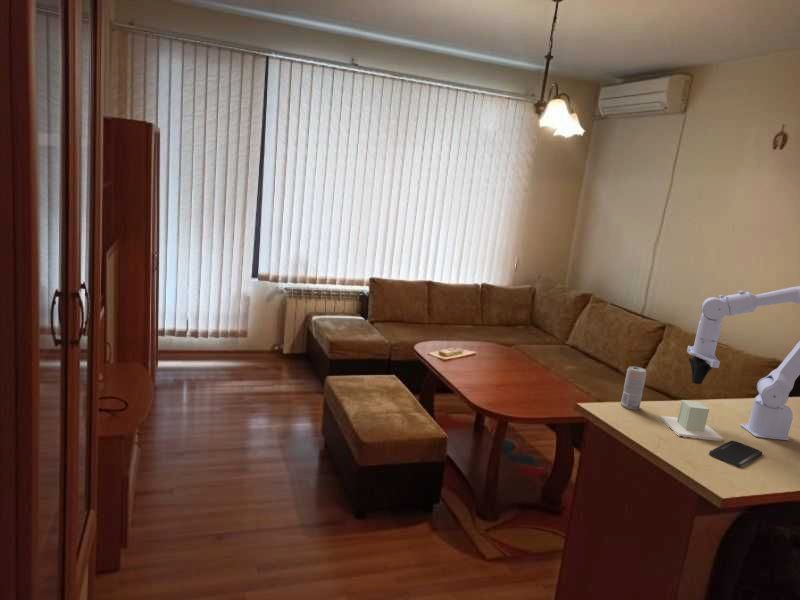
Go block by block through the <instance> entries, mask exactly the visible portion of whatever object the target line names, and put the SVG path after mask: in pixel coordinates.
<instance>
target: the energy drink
mask: <svg viewBox="0 0 800 600" xmlns="http://www.w3.org/2000/svg"><path fill="white" fill-rule="evenodd" d="M646 378H647V369H646V368H643V367H640V366H635V365H630V366H628V368H627V369H626V374H625V380H624V385H623V391H622V396H621V401H620V406H622V407H623V408H625V409H626V410H627V409H628V410H633V411H636V410H639V409H640V406H641V404H642V403H641V402H642V398H643V394H644V393H643V392H644V389H645V388H644V387H645V383H646Z"/></svg>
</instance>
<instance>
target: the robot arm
mask: <svg viewBox="0 0 800 600" xmlns="http://www.w3.org/2000/svg"><path fill="white" fill-rule="evenodd" d="M785 303H795V304H798V305H800V285H797V286H792V287H787V288H781V289H777V290H772V291H769V292H764V293H759V294H754V293H752V292H750V291H744V290H743V289H742V290H738V293H734V294H729V295H724V294H719V297H715V296H712V297H707V298H705V299H704V301H703V302H702V303H701V305H700V306H701V311H702V313H701V315H700V317H699V319H700V320H699V321H698V326H697V329H696V335H695V340H694V343H693V345H692V346H691V345H688V346H687V349H686V352H687V354H689V355H690V356H691V357H688V361H689V365H690V369H691V383H693V384H695V385H702V383H703V382H704V380H705V378H706V377H707V375H708V373H709V372H710V371H711V370H712V369H713V368H716V369H719V367H720V364H721V361H720V360H719V359H718V358H717V356H716V351H717V350H716V349H717V346H718V342H719V337H720V333H721V328H722V320H723V318H724V317H725V316H728V317H730V316H735V315H736V316H737V315H741V314H742V315H743V314H749V313H754V312H755V310H756V309H757V308H758V307H762V306H763V307H764V306H769V305H770V306H771V305H777V304H778V305H779V304H785ZM692 356H693V357H692ZM799 376H800V340H799V341H798V342H797V343H796V345H795V346H794V347H793V348H792V350H790V352H789V353H788V354H787V355H786V357H784V359H783V361H782V362H781V363H780V364H779V365H778V367H776V368H775V369H773V370H772V371H770V373H769V374H768V375H766V376H765V377H762V378H760V379H759V380H758V381H757V384H756V390H757V392H758V395H756V396H755V397H754V400H753V404H752V407H751V411H750V415H749V420H748V423H740V426H741V427H742V428H744V429H745V430H746V431H747V432H749V433H750V434H752V435H753V436H754V437H756V438H761V439H762V438H763V439H772V440H781V441H790V438H789V437H788V436H789V433H790V430H791V425H792V422H793V418H794V417H793V416H794V415H793V411H792V409H791V407H790V406H788V405H786V404H787V402H788V401H789V395H790V393H791V391H792V390H793V388H794V385H795V381H796V380H797V378H798V377H799Z"/></svg>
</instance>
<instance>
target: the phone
mask: <svg viewBox="0 0 800 600" xmlns="http://www.w3.org/2000/svg"><path fill="white" fill-rule="evenodd" d="M708 456H710V457H712V458H714V459H716V460H719V461H721V462H724V463H726V464H728V465H731V466H733V467H735V468H739V469H742V468H743V467H745V466H746V465H749V464H750V463H751V462H752V463H753V461H755V460H757V459H759V458H760V457H762V456H763V451H761V450H759V449H756V448H754V447H752V446H749V445H747V444H744V443H741V442H739V441H736V440H730V441H727V442H725V443H723V444H722V445H720V446H717V447H715V448H713V449H711V450H709V452H708Z"/></svg>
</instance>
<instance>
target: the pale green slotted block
mask: <svg viewBox="0 0 800 600" xmlns="http://www.w3.org/2000/svg"><path fill="white" fill-rule="evenodd" d="M709 413H710V409H709V407H707V406H706V405H705V404H703V402H701V401H694V400H685V399H681V401H680V405H679V411H678V414H677V417H678V418H677V422H678V423H679V424H680V425H681V426H682V427H683V428H684V429H685V430H693V431H703V432H704V430H705V425H707V421H708V417H709Z"/></svg>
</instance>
